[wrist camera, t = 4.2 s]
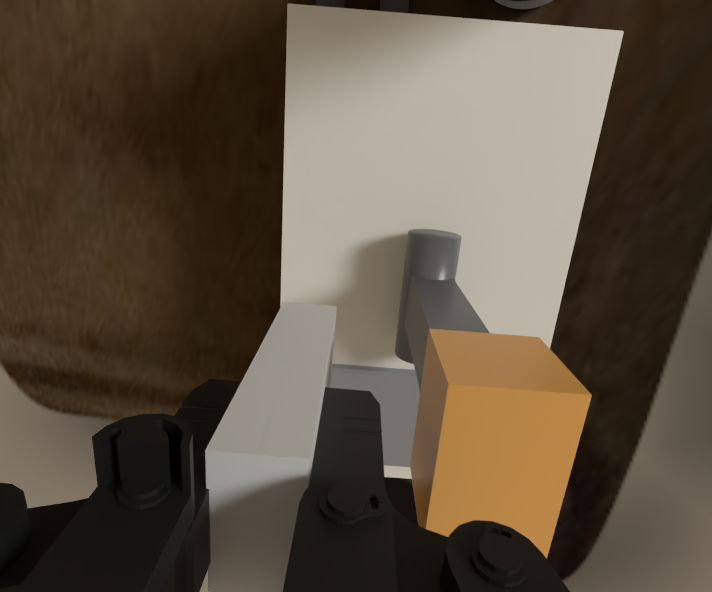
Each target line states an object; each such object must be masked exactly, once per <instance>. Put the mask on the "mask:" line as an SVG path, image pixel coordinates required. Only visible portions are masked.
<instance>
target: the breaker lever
mask: <svg viewBox="0 0 712 592" xmlns="http://www.w3.org/2000/svg"><path fill="white" fill-rule="evenodd" d="M461 239H462V236H460V235H458V234H456V233H452V232H447V231H441V230H433V229H412V230H409V231H408V238H407V247H406V255H405V264H404V273H403V282H402V291H401V300H400V308H399V317H398V326H397V335H396V344H395V354H396V356H397V357H398V358H400V359H401V360H403V361H405V362H408V363H411V364H414V367H415V372H416V376H417V381H418V385H419V389H420V397H419V404H418V412H417V419H416V426H415V433H414V441H413V448H412V455H411V463H410V469H411V476H412V483H413V490H414V497H415V504H416V511H417V517H418V524H419V526H420V527H423V528H425V529H427V530H430V531H433V532H436V533H438V534H441V535H444V536H447V537H449V535H450V534H451V533H452V532H453V531H454V530H455V529H456V528H457V527H458V526H459V525H461V524H464V523H467V522H470V521H473V520H481V521H493V522H496V523H499V524H502V525H505V526H508V527H511V528H513V529H514V530H516V531H517V532H519V533H521V534H522V535H524V536H525V537H527V538H528V539H530V541H531V542H532V543H533V544H534V545H535V546H536V547H537V548H538V549H539V550H540V551H541V552H542V553H543V554H544V556H545V557H546V559H547V556H548V552H549V548H550V545H551V541H552V538H553V534H554V530H555V527H556V523H557V519H558V516H559V512H560V509H561V505H562V501H563V498H564V494H565V490H566V487H567V483H568V480H569V476H570V472H571V469H572V465H573V461H574V458H575V454H576V451H577V447H578V443H579V440H580V436H581V432H582V429H583V425H584V421H585V418H586V414H587V411H588V407H589V403H590V400H591V396H592V395H591V394H590V393H589V391H588V390H587V389H586V388H585V387H584V386H583V385H582V384H581V383H580V382H579V380H578V379H577V378H576V377H575V376H574V375H573V374H572V373H571V372H570V371H569V370H568V368H567V367H566V366H565V365H564V364H563V363H562V362H561V361H560V360H559V359H558V357H557V356H556V355H555V354H554V353H553V352H552V351H551V350H550V349H549V348H548V346H547V345H546V344H545V343H544V342H543V341H542V340H541V339H540V338H539V337H532V336H519V335H506V334H493V333H490V332H489V331H488V329H487V328H486V326H485V325H484V323H483V322H482V321H481V319H480V318H479V316H478V315H477V313H476V312H475V310H474V309H473V307H472V306H471V304H470V303H469V301H468V300H467V298H466V297H465V295H464V294H463V292H462V291H461V289H460V288H459V286H458V285H457V283H456V282H455V278H456V272H457V265H458V259H459V252H460V246H461Z"/></svg>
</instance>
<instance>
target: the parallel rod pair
mask: <svg viewBox="0 0 712 592" xmlns="http://www.w3.org/2000/svg"><path fill="white" fill-rule="evenodd" d="M316 6H324V7H337V8H345V7H346V0H316ZM408 10H409V0H380V3H379V11H385V12H398V13H408Z"/></svg>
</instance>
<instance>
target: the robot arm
mask: <svg viewBox="0 0 712 592" xmlns="http://www.w3.org/2000/svg"><path fill="white" fill-rule="evenodd" d="M336 309H337V306H327V305H316V304H304V303H293V302H283V304H282V306H281V308H280V310H279V312H278V314H277V315H276V317H275V319H274V321H273V323H272V325H271V327H270V329H269V331H268V332H267V334H266V336H265V338H264V340H263V342H262V344H261V346H260V348H259V349H258V351H257V353H256V355H255V357H254V359H253V361H252V363H251V365H250V367H249V368H248V370H247V372H246V374H245V376H244V378H243V380H242V382H239V381H227V380H215V379H210V380H208V381H207V382H205V383H203V384H202V385H200V386H198V387H197V388H195V389H194V390H192V392H191V393H190V394H189V396H188V397H187V399H186V400H185V401H184V403H183V404H182V408H181V407H180V408H179V410H178V411H177V413H176V414H175V415H174V416H171V415H166V414H141V415H137V416H132V417H128V418H123V419H121V420H119V421H117V422H114V423H112V424H110V425H107V426H106V427H104V428H103V429H102V430H100V431H99V432H98V433H97V434H95V435H94V436H93V437H92V440H93V449H94V458H95V467H96V475H97V484H98V487H97V488H96V489H95V491H94V492H93V493H92V494H91V496H90V497H89V498H87V499H82V500H78V501H73V502H68V503H61V504H54V505H49V506H41V507H35V508H28V509H27V504H26V500H25V496H24V492H23V491H22V490H21V489H19V488H18V487H16V486H14V485H13V484H6V483H0V592H199V591H200V588H201V586H202V583H203V580H204V578H205V575H206V572H207V570H208V591H210V592H570V591H569V590H568V589H567V587H566V586H565V584H564V583H563V581H562V580H561V579H560V577H559V576H558V574H557V573H556V572H555V570H554V569H553V567H552V566H551V564H550V563H549V562H548V560H547V559H546V557H545V556H544V554H543V553H542V552H541V551H540V550H539V549H538V548H537V547H536V546H535V545H534V544H533V543H532V542H531V541H530V539H528V538H527V537H525V536H524V535H522V534H521V533H519V532H517V531H516V530H514V529H513V528H511V527H508V526H505V525H502V524H499V523H496V522H493V521H481V520H473V521H470V522H467V523H464V524H461V525H459V526H458V527H457V528H456V529H455V530H454V531H453V532H452V533H451V534H450V535H449V537H447V536H444V535H441V534H438V533H436V532H433V531H430V530H427V529H425V528H423V527H420V526H418V525H416V524H414V523H412V522H410V521H409V520H408V519H406V518H405V517H403V516H402V515H401V514H400V513H399V512H398V511H397V510H396V509H395V508H394V507H393V506H392V504H391V502H390V500H389V499H388V497H387V493H386V489H385V479H384V462H383V445H382V428H381V411H380V404H379V402H378V401H377V400H376V398H375V397H374V396H373V394H372V393H371V392H370V391H363V390H351V389H340V388H330V387H331V374H332V361H333V348H334V335H335V322H336Z"/></svg>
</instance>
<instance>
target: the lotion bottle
mask: <svg viewBox="0 0 712 592" xmlns="http://www.w3.org/2000/svg"><path fill="white" fill-rule="evenodd" d="M494 1H496V2H498V3H499V4H501V5H504V6H506V7H510V8H514V9H530V8H536V7H539V6H542V5H545V4H547V3H549V2H551V1H553V0H494Z"/></svg>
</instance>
